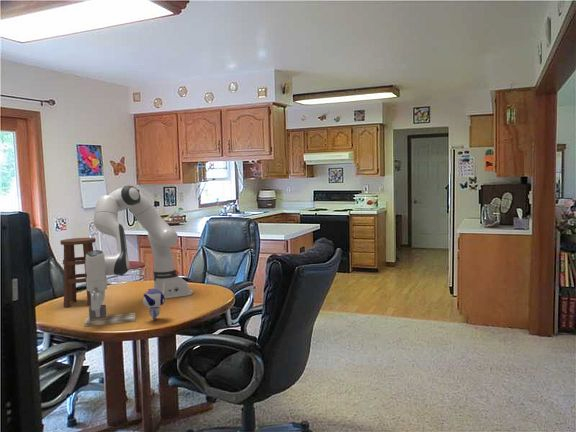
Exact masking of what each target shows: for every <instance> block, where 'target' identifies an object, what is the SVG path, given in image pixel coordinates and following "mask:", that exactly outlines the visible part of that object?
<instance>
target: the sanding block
mask: <svg viewBox="0 0 576 432" xmlns="http://www.w3.org/2000/svg"><path fill="white" fill-rule="evenodd" d="M88 316H89V318H90V321H92V320H102V319H106V317H107V305H106V304H102V306H101V308H100V317H96V313H95V310H94V311H92V309H91V306H88Z"/></svg>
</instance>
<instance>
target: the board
mask: <svg viewBox="0 0 576 432" xmlns="http://www.w3.org/2000/svg"><path fill="white" fill-rule="evenodd" d="M106 316H107V317H106V319H102V320H92V321H90V318H89V317H86V319H85V320H84V323H83V326H84V327H93V326H103V325H113V324H121V323H123V324H124V323H132V322H136V317H137V316H136V312H129V313H127V312H126V313H120V314H119V313H118V314H117V313H116V314H109V315H108V314H106Z"/></svg>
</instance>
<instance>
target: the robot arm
mask: <svg viewBox="0 0 576 432" xmlns="http://www.w3.org/2000/svg"><path fill="white" fill-rule="evenodd" d="M127 209H129V211H130V212H131V214H132V215H133V216H134V218H135V219H136V221H137V222H138V223H139V224H140V226H141V227H142V228H143V229H145V231H146V232H148V233H147V238H148V241H149V244H150V249H151V253H152V259H153V281H154V283H153V289H158V290H160V291H161V292H162V293H163V295H164V297H165V300H166V299H171V298H179V297H185V296H187V297H188V296H191V295H193V293H194V292H193V289H191V288H190V286H189V283H188V282H187V281H186V280H185V279H183V278H182V277H180V276H179V274H180V273H179V272H180V271H178V270H177V269H175V260H174V255H173V252H172V250H171V247H174V246H175V245H176V244H177V242H178V241H179V237H178V236H179V235H178V233H177V232H176V231H175V230H174V229H173V228H172V227H171V226H170V225H169V223H168V222H167V221H166V220H165V219H163V217H161V216H160V214H159V213H158V211H156V209H155V207H154V206H153V205H152V204H151V202H150V201H149V200H148V199H147V197H146V196H145V195H144V194H143V193H142V192H140V191H139V189H138V188H136V187H135V186H134V185H126V186H125V185H124V186H123V187H120V188H118V189H115V190H114V191H111V192H110V193H108V194H103V195H101V196H99V197H98V199H97V202H96V204H95V208H94V213H93V214H94V215H93V224H94V227H95V229H96V230H98V232H99V233H100V232H101V233H102V234H104V235H107V236H111V237H113V238H114V239H116V241H115V242H116V248H117V253H116V254H106V255H105V254H104V251H102V250H99V249H96V250H95V249H93V251H90V252H88V253H87V254H86V260H85V265H84V271H85V270H86V274H87V278H86V277H85V278H86V282H85V285H87V289H86V292H87V291H90V294H91V309H92V311H94V310H95V313H96V317H100V308H101V306H102V305H103V304H104V301H105V293H106V292H105V290H107V289H108V281H107V279H108V278H107V276H124V275H126V273H127V272H129V270H130V266H131V265H130V260H129V256H128V255H129V254H128V248H127V247H128V246H127V241H126V233H125V229H124V227H123V224H121V223H119V219H118V216H119V215H118V214H119V213H118V212H121V211H124V210H125V211H126V210H127Z"/></svg>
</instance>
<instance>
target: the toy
mask: <svg viewBox="0 0 576 432" xmlns="http://www.w3.org/2000/svg"><path fill="white" fill-rule="evenodd" d="M142 298H143V299H142V303H143V305H144V306H145V307H147V308H148V313H149V315H150V316H151V318H152V320H153V321H156V320H157V319H158V318H157V317H158V316H159V315H160V313H161V306H163V305H164V303H165V302H166V299H165V297H164V295H163V293H162V292H161V291H160V290H158V289H154V288H148V290H147V291H146V292H145V293H143V297H142Z"/></svg>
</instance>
